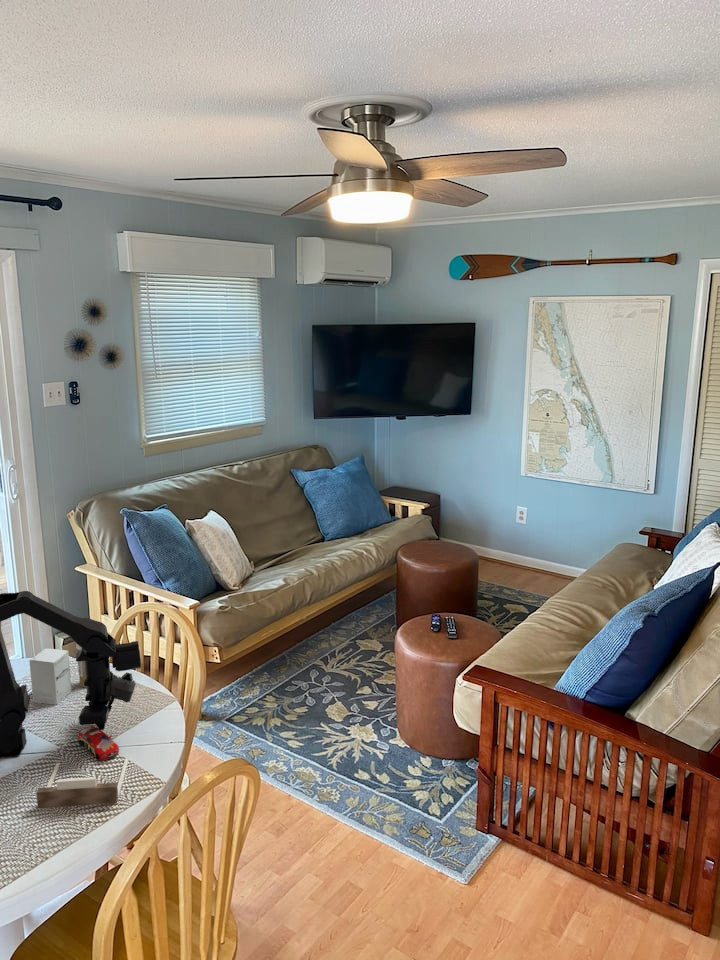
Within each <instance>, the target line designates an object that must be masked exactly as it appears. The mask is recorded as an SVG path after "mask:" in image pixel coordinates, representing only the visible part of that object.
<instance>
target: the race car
mask: <svg viewBox="0 0 720 960" xmlns="http://www.w3.org/2000/svg"><path fill="white" fill-rule="evenodd" d="M77 742H78V744H79V746H80V747H81V748H83V749H85V750H86V752H88V753H90V754H91V755H92V756H93V757H95V758H96V760H98V761H99V762H100V761H107V760H111V759H113V758H114V757H116V756H117V755H118V754H119V752H120V748H119V745H118V744H117V743H116V742H115V741H114V740H113V739H112V735H107V733H105V732H104V730H100V729H99V728H98V727H97V726H92V725H91V726H90V725H89V726H87V727H85V728H83V729H81V730H80V731H79V732H78V734H77Z"/></svg>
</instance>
